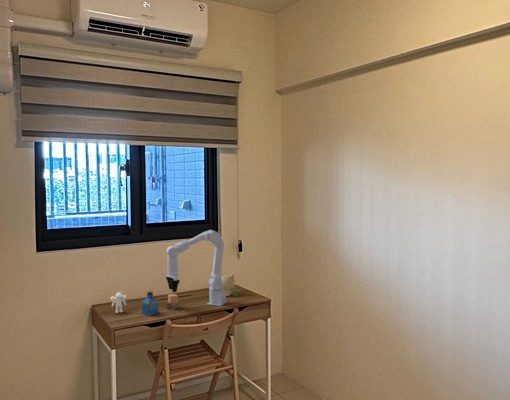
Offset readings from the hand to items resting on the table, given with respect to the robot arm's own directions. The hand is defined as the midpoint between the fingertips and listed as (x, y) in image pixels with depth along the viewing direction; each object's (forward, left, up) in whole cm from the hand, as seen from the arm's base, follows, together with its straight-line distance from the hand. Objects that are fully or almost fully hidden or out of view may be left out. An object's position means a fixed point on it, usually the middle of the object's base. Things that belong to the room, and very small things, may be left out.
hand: (172, 290), depth 272 cm
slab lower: (0, 0, -11) cm, 11 cm away
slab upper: (0, 0, -9) cm, 9 cm away
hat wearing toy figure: (+25, +17, -11) cm, 32 cm away
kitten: (-18, -36, -11) cm, 42 cm away
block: (0, 0, -7) cm, 7 cm away
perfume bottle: (+7, +13, -11) cm, 18 cm away
